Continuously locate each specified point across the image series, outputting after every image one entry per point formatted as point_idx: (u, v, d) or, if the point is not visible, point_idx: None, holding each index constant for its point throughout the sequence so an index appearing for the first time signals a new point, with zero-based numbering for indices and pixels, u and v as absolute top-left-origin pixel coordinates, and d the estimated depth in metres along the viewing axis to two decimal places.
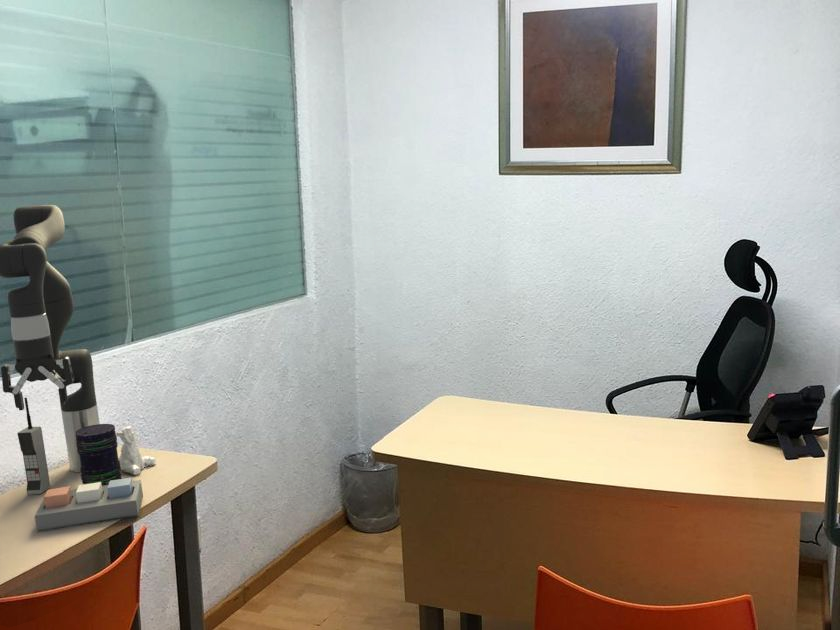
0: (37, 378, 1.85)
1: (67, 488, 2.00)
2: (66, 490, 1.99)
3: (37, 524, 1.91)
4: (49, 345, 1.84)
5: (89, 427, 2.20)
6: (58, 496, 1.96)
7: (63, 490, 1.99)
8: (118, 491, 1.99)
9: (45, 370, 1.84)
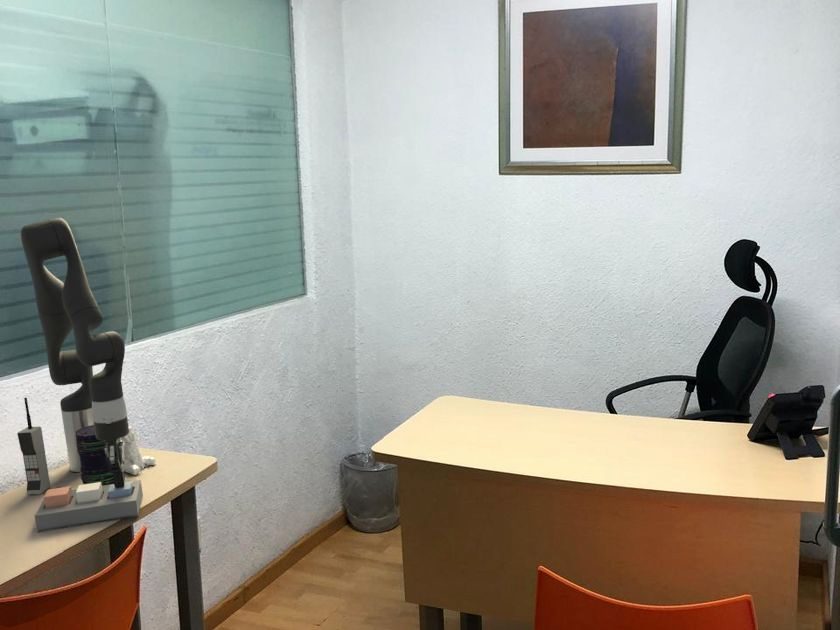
0: None
1: (67, 488, 2.00)
2: (66, 490, 1.99)
3: (37, 524, 1.91)
4: None
5: (89, 427, 2.20)
6: (58, 496, 1.96)
7: (63, 490, 1.99)
8: (118, 495, 1.99)
9: None
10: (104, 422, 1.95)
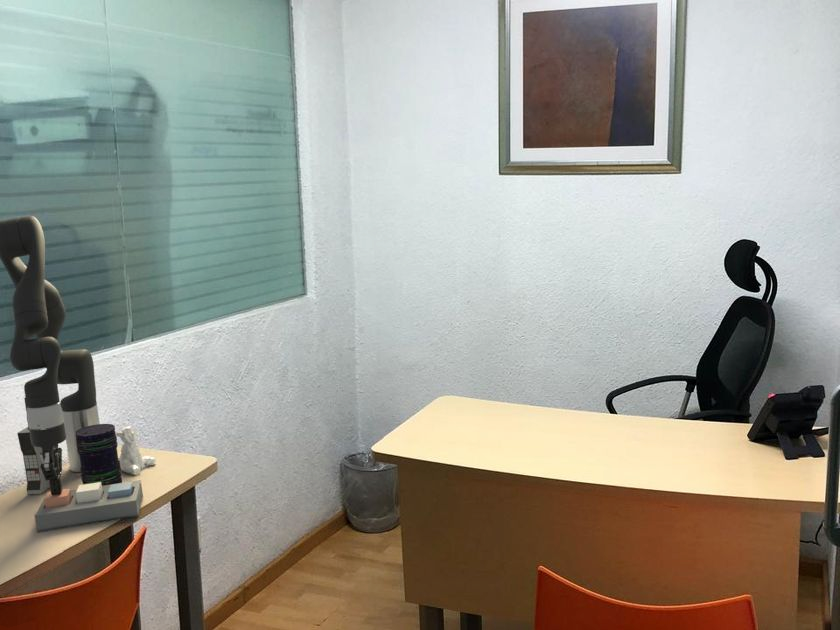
0: None
1: (67, 490, 2.00)
2: (66, 492, 1.99)
3: (37, 524, 1.91)
4: None
5: (89, 427, 2.20)
6: (59, 498, 1.96)
7: (64, 492, 1.99)
8: (118, 495, 1.99)
9: None
10: (39, 428, 1.92)
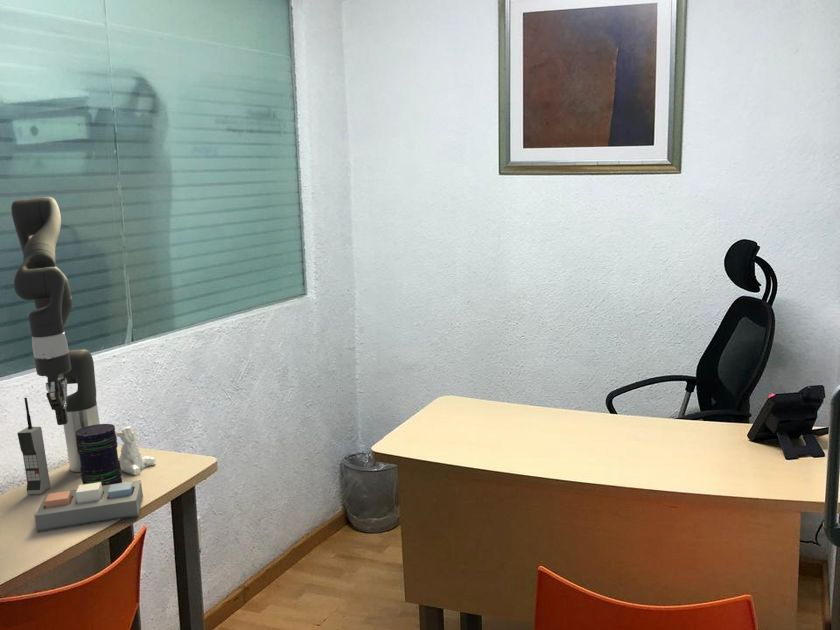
0: None
1: (68, 492, 2.00)
2: (67, 494, 1.99)
3: (37, 524, 1.91)
4: None
5: (89, 427, 2.20)
6: (59, 500, 1.96)
7: (64, 494, 1.99)
8: (118, 495, 1.99)
9: None
10: (44, 357, 1.93)
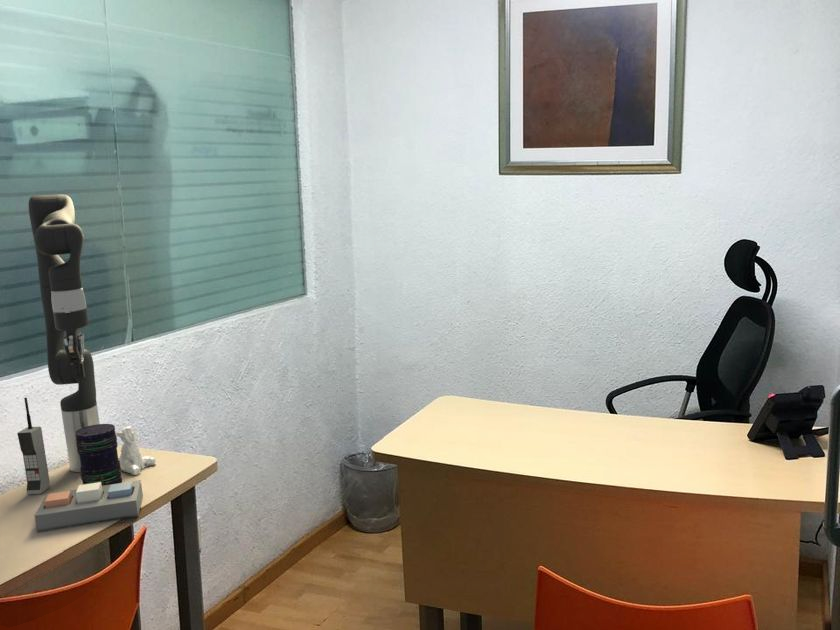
0: None
1: (68, 492, 2.00)
2: (67, 494, 1.99)
3: (37, 524, 1.91)
4: None
5: (89, 427, 2.20)
6: (59, 500, 1.96)
7: (64, 494, 1.99)
8: (118, 495, 1.99)
9: None
10: (63, 311, 1.98)
